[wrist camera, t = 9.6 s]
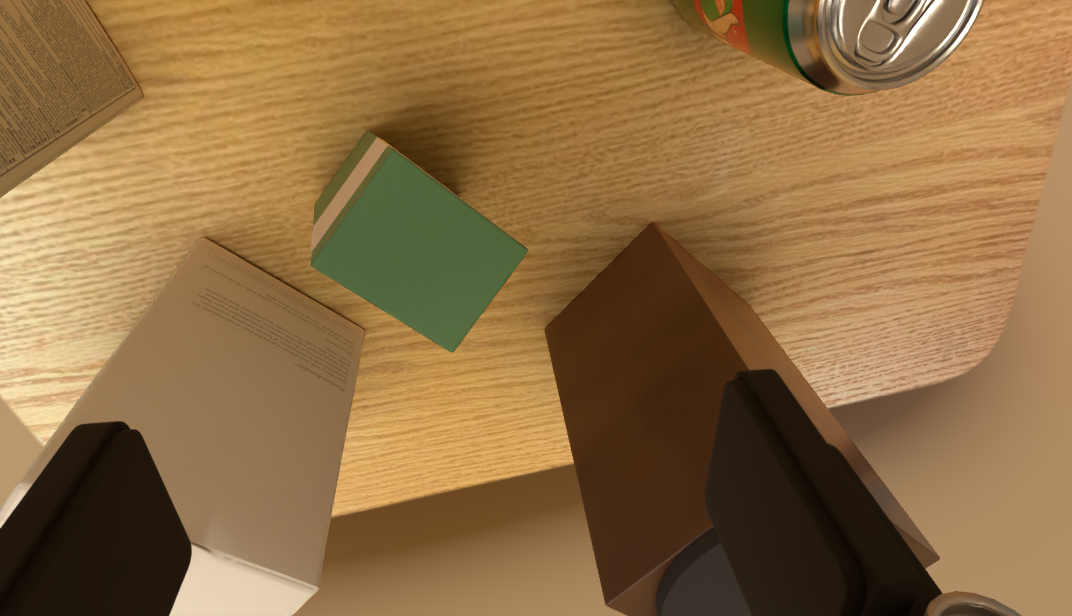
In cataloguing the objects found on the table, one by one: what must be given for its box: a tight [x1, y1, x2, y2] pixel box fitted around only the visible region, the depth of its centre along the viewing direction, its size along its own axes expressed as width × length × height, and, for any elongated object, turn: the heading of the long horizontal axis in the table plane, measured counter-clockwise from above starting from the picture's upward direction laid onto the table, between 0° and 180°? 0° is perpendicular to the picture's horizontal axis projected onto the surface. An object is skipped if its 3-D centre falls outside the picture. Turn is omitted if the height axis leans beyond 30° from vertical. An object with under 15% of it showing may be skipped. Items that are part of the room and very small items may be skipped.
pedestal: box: [545, 222, 940, 616], centre depth 28 cm, size 8×8×16 cm
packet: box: [311, 131, 528, 352], centre depth 24 cm, size 11×5×4 cm
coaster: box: [656, 528, 751, 616], centre depth 21 cm, size 8×8×1 cm
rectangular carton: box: [0, 238, 365, 616], centre depth 26 cm, size 9×9×15 cm
